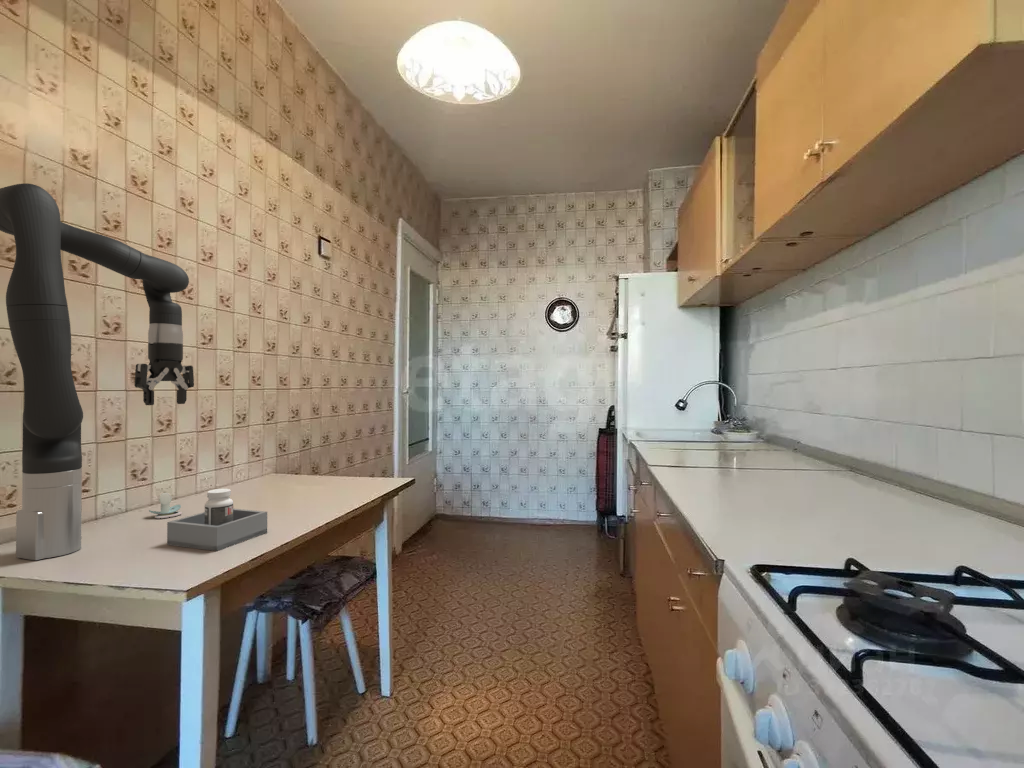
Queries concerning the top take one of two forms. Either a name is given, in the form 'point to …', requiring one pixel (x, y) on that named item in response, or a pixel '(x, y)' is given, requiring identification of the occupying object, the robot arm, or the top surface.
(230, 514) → the pill bottle
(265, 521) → the bin
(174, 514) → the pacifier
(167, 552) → the top surface
